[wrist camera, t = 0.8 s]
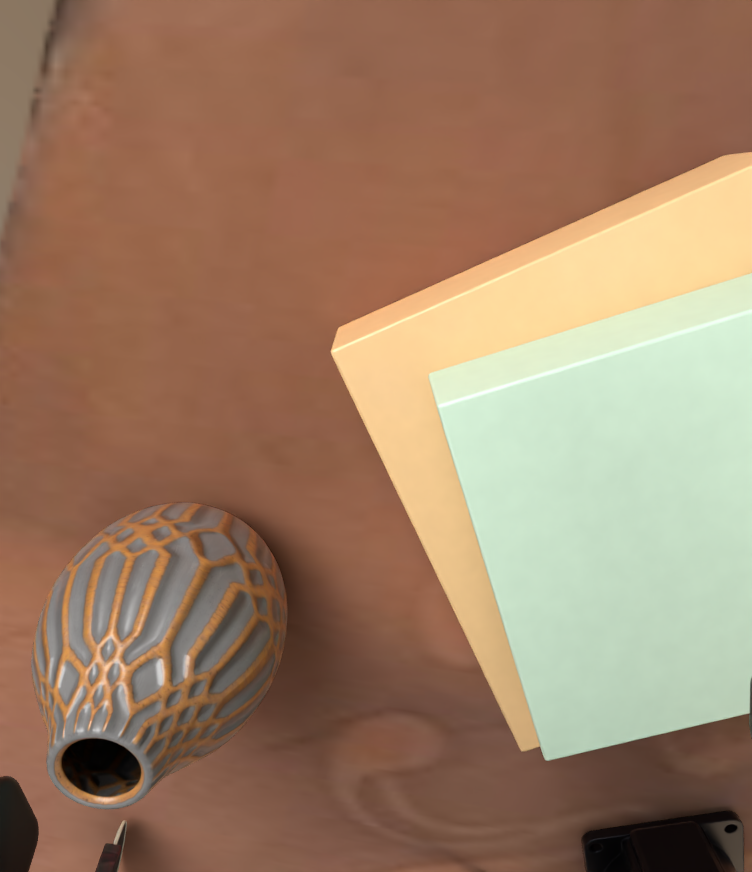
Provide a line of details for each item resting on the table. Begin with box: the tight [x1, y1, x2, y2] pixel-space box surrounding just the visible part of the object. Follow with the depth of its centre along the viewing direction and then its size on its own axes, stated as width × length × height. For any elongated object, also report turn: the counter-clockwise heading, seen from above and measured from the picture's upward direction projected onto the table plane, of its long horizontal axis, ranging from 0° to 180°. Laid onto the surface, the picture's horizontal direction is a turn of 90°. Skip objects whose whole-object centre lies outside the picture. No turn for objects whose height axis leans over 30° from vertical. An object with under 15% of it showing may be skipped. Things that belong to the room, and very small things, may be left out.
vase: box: [31, 502, 287, 809], centre depth 18 cm, size 7×7×9 cm
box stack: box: [331, 152, 752, 761], centre depth 18 cm, size 15×12×6 cm
